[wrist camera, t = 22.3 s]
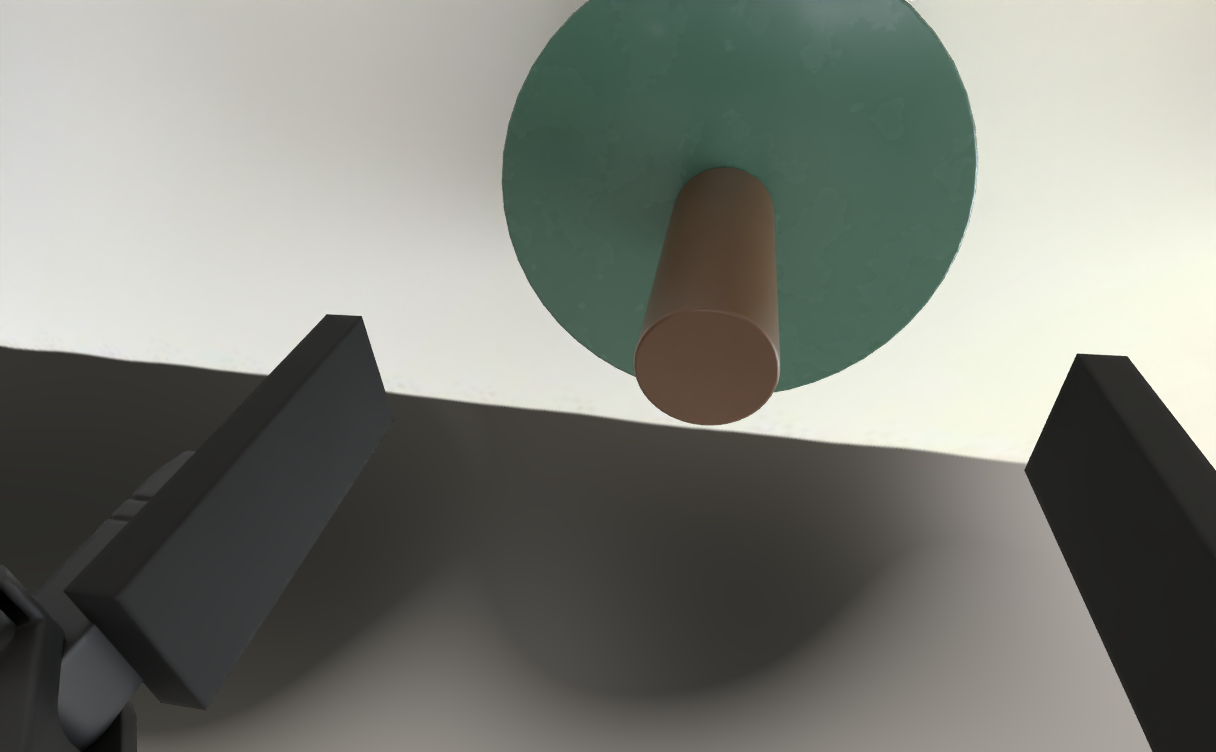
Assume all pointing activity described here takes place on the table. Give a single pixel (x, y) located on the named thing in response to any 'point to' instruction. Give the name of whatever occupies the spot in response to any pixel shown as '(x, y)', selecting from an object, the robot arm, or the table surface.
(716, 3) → the lid
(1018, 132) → the table surface
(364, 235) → the table surface
